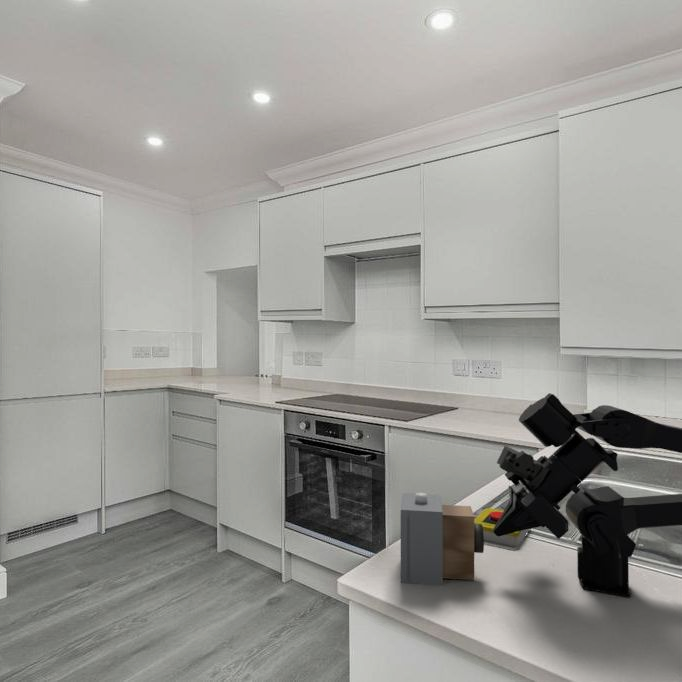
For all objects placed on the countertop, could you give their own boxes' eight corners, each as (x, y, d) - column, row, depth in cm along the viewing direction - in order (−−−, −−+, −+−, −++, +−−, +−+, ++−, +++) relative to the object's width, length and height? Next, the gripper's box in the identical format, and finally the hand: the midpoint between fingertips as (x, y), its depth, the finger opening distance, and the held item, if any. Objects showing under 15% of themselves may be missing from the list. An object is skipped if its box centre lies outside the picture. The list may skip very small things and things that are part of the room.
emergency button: (466, 519, 92) (488, 498, 105) (466, 542, 92) (488, 519, 105) (516, 529, 87) (533, 506, 100) (516, 554, 87) (533, 527, 100)
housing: (440, 560, 83) (439, 487, 83) (442, 585, 75) (442, 504, 75) (402, 557, 84) (402, 486, 84) (400, 582, 76) (400, 502, 76)
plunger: (480, 566, 80) (479, 506, 80) (484, 580, 75) (484, 517, 76) (440, 563, 81) (440, 504, 82) (442, 577, 76) (441, 514, 77)
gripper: (516, 421, 86) (454, 480, 88) (543, 442, 68) (464, 516, 69) (563, 467, 85) (499, 526, 86) (604, 501, 66) (521, 575, 68)
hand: (495, 533), depth 78 cm, fingers closed
